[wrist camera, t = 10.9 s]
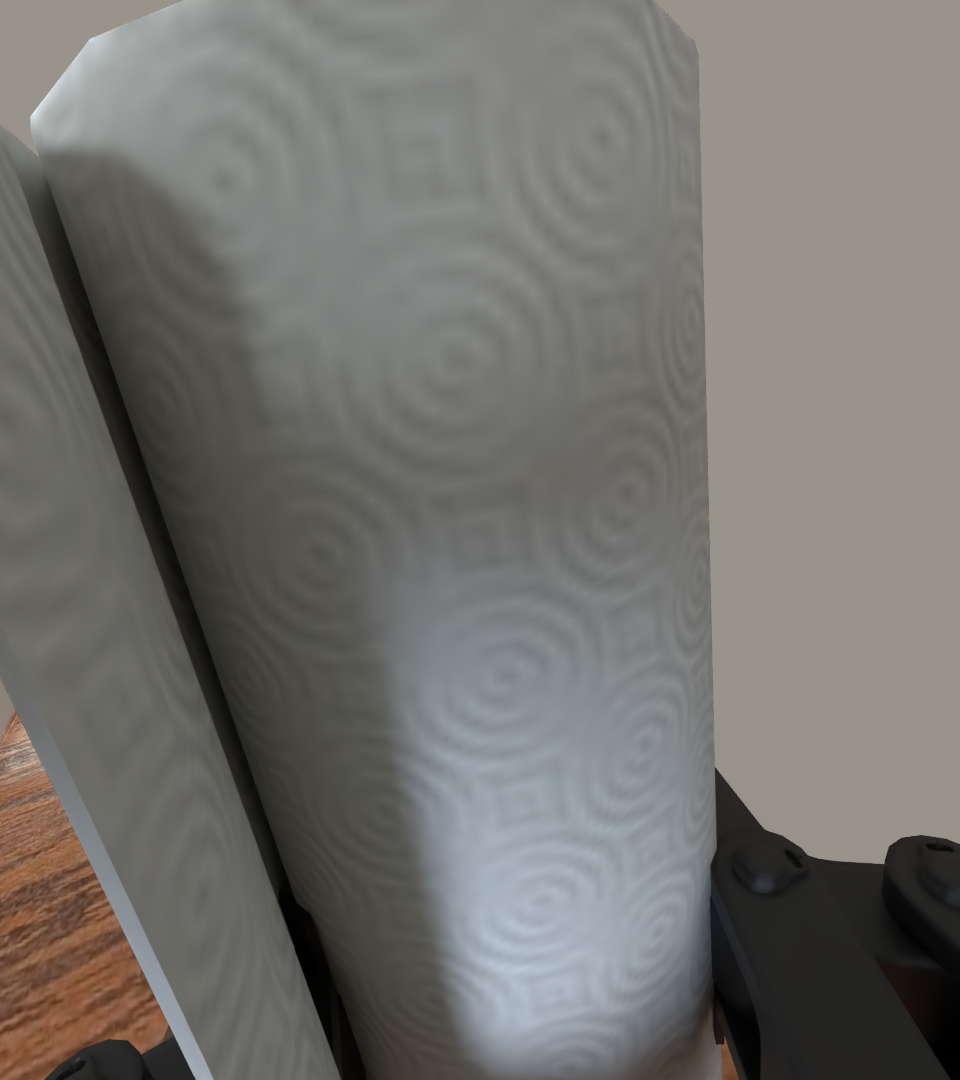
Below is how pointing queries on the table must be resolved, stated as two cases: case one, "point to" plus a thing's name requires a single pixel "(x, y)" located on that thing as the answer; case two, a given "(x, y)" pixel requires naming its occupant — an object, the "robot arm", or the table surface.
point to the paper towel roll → (374, 525)
